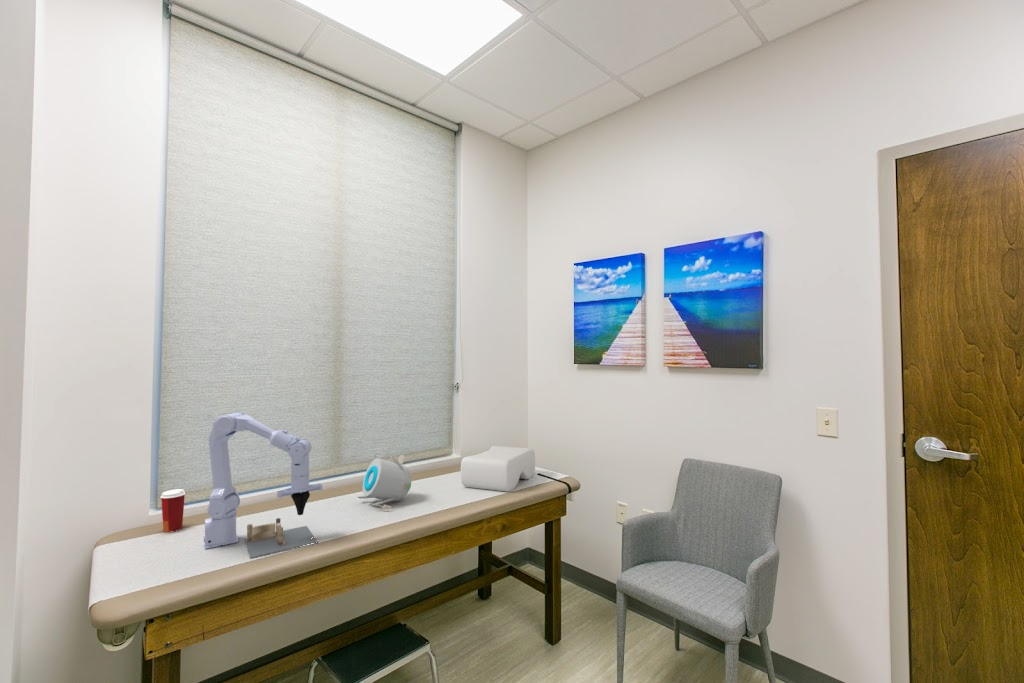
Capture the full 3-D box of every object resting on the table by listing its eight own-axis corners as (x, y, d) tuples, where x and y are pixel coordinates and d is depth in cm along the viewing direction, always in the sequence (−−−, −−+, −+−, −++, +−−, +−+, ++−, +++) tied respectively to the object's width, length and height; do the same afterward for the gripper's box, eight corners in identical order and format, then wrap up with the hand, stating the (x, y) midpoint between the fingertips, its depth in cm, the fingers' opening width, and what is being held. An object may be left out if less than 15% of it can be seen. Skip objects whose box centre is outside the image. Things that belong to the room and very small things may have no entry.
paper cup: (189, 525, 175) (189, 488, 176) (178, 532, 168) (178, 493, 168) (166, 526, 174) (167, 489, 175) (154, 534, 167) (155, 495, 167)
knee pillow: (507, 494, 208) (506, 461, 208) (459, 489, 218) (459, 457, 219) (535, 475, 240) (535, 447, 240) (493, 471, 250) (492, 444, 250)
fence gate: (275, 533, 163) (275, 518, 163) (280, 532, 164) (280, 517, 164) (278, 544, 153) (278, 528, 153) (283, 543, 154) (283, 527, 154)
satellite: (428, 462, 199) (404, 457, 219) (387, 450, 189) (365, 446, 208) (411, 516, 192) (388, 506, 211) (368, 507, 181) (347, 497, 201)
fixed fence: (247, 542, 156) (247, 526, 157) (246, 540, 158) (246, 524, 158) (275, 536, 161) (275, 520, 161) (274, 534, 163) (274, 519, 163)
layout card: (250, 558, 144) (250, 557, 144) (244, 539, 160) (244, 538, 160) (318, 543, 156) (318, 541, 156) (306, 526, 171) (306, 525, 171)
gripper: (280, 481, 153) (280, 522, 153) (325, 473, 163) (325, 512, 162) (275, 477, 159) (275, 516, 158) (318, 470, 168) (318, 507, 167)
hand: (300, 514), depth 161 cm, fingers closed
